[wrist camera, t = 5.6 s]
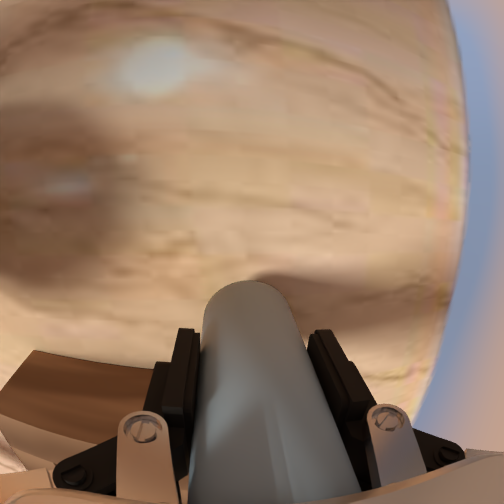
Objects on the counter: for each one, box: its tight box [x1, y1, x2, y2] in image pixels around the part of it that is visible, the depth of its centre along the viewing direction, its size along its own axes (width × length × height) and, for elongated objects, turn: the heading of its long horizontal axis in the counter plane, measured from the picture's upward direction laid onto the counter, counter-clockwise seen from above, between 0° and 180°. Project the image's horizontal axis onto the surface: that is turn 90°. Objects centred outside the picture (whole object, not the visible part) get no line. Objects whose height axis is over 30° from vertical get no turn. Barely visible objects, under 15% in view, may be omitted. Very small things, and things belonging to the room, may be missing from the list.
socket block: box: [0, 350, 189, 504], centre depth 15 cm, size 12×12×6 cm
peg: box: [187, 281, 362, 504], centre depth 8 cm, size 4×4×12 cm
